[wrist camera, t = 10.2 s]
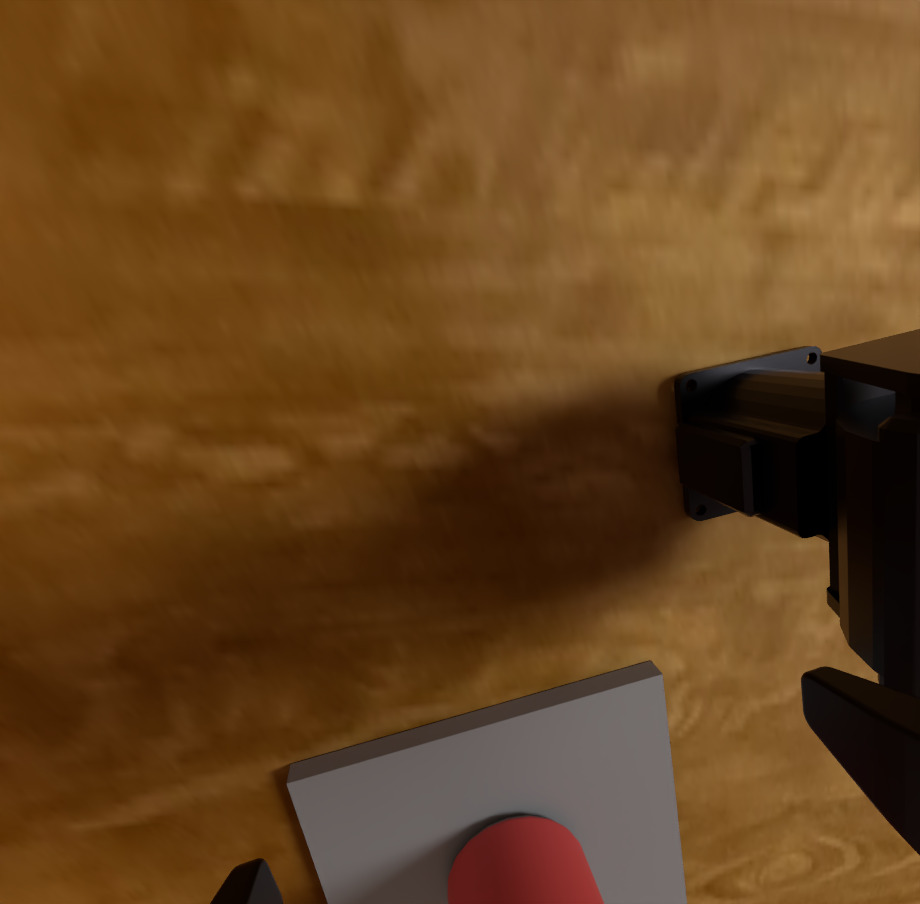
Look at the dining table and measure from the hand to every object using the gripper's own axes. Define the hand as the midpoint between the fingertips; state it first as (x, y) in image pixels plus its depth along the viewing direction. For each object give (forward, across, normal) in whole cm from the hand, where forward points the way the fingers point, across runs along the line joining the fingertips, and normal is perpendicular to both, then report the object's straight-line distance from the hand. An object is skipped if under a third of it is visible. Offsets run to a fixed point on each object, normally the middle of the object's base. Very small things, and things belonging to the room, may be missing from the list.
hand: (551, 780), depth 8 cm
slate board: (+13, +1, +18) cm, 22 cm away
